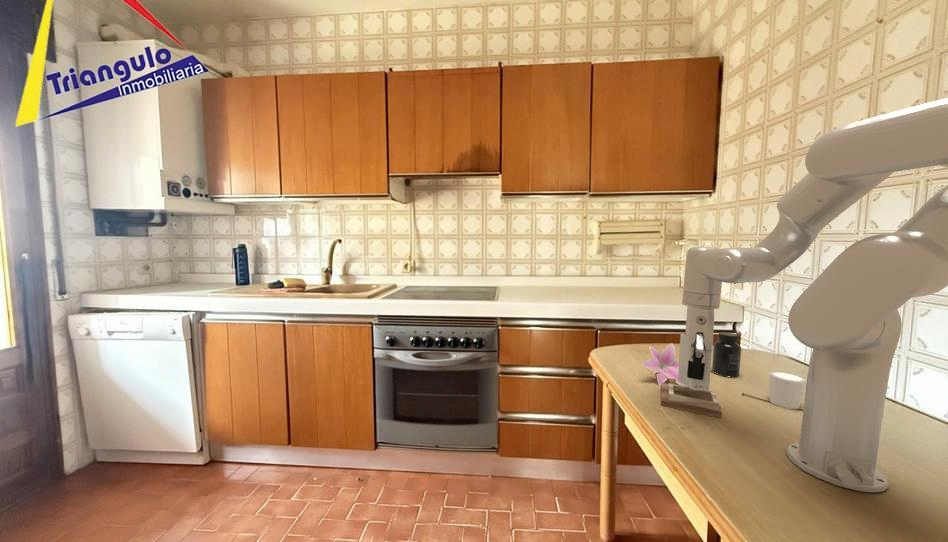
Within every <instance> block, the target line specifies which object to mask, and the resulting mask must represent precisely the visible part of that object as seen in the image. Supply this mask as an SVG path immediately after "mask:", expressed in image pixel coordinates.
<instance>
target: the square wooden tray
mask: <svg viewBox="0 0 948 542" xmlns="http://www.w3.org/2000/svg"><path fill="white" fill-rule="evenodd" d="M660 388H661V389H660V393H661V394H660V400H661V401H660V405H661V406H662V407H666V408H672V409H675V410H676V409H678V410H681V411H686V412H691V413H695V414H699V415H700V414H701V415H704V416H709V417H715V418H719V419H722V417H723V412H722V409H721V405H720V403H719V402H720V401H719V400H718V397H717V394H716V391H715V390H714V391H713V390H710V389H709V390H708V391H701V390H692V389H690V388H689V387H688V386H686V385H685V386H682V385H678V384H677V383H676V379H673V378H670V379H669V383H667V382H664V383H662V384H661V385H660Z"/></svg>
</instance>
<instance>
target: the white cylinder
mask: <svg viewBox="0 0 948 542" xmlns="http://www.w3.org/2000/svg"><path fill="white" fill-rule="evenodd" d="M806 384H807V379H806V378H804V377H803V376H800V375H796V374H793V373H789V372H784V371H769V402H770V403H772V404H774V405H775V406H778V407H781V408H784V409H790V410H798V409H800V407H801V402H802V399H803V395H804V390H805V388H806V387H805V386H806Z"/></svg>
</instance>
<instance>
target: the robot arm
mask: <svg viewBox="0 0 948 542" xmlns="http://www.w3.org/2000/svg"><path fill="white" fill-rule="evenodd" d="M804 161H805V163H804V165H805V168H806V170H807V171H808V173H807V174H806V175H805V176H803V177H802V178H801V179H800V180H799V181H798V182H797V183H796V184H795V185H794V186H792V187H791V188H790V189H789V190H788V191H786V193H785V194H784V195H782V196H781V197H780V198H779V199H778V201H777V203H776V210H777V211H778V214H779V218H778V221H777V224H776V226H775V227H774V228H773V229H772V230H771V232H770V233H769V234H767V236H765V238H763V239H762V240H760V242H759V243H758V244H756V245H754V246H753V247H725V248H720V247H709V246H692V247H690V248H688V249H687V251H686V257H685V266H684V267H685V269H684V278H683V286H682V287H683V288H682V289H683V290H682V300H681V304H682V306H684V307H685V306H686V307H687V309H686V318H685V319H686V320H685V333H686V341H687V347H688V348H689V349H690V360H688V371H687V377H688V378H692V379H698V380H703V378H704V368H705V363H704V360H705V347H706V350H708V352H711V351H713V347H714V330H715V310H718V309H720V305H721V295H722V287H723V283H725V284H746V283H761V282H762V283H763V282H766V281H768V280H770V279H772V278H774V277H776V276H777V275H778V274H779V273H781V272H783V271H784V270H785V269H786V268H788V267H789V266H790V265H792V264H793V263H794V262H796V261H797V260H798V259H799V258H801V257H802V256H803V254H805V252H806V251H807V250H808V249H809V248H810V247H811V245H812V244H813V242H814V241H816V239H817V237H818V236H819V234H820V233H821V231H822V230H823V229H825V227H826V226H828V225H829V224H830V223H832V222H833V221H834V220H836V218H838V217H839V216H840V215H842V214H843V213H844V212H845V211H847V210H848V209H849V208H850V207H852V206H853V205H854V204H855V203H857V202H858V201H860V200H861V199H862V198H863V197H864V196H866V195H867V194H869V193H870V192H871V191H873V190H874V189H875V188H876V187H877V186H879V185H880V184H881V183H883V182H884V181H885V180H887V179H888V178H889V177H890V176H891V175H893V174H894V173H896V172H897V173H898V172H903V171H904V172H905V171H909V170H910V171H911V170H915V169H916V170H917V169H923V168H929V167H936V166H937V167H939V166H941V167H944V168H948V97H946V98H945V97H944V98H942V99H941V98H940V99H938V100H933V101H930V102H926V103H922V104H918V105H915V106H910V107H908V108H904V109H899V110H896V111H891V112H889V113H885V114H884V113H883V114H880V115H877V116H872V117H870V118H866V119H863V120H859V121H854V122H851V123H848V124H844V125H841V126H839V127H836V128H834V129H831V130H829V131H828V132H826V133H824V134H822V135H821V136H820V137H819V138H817V139H816V140H815V141H814V142H813V143H812V144H811V146H809V148H808V151H807V152H806V155H805V158H804ZM947 287H948V184H947V185H946V186H944V187H943V188H942V189H940V190H939V191H937V192H936V193H935V194H934V195H933V196H932V197H930V198H929V199H928V200H927V201H926V202H925V203H924V204H922V206H921V207H920V208H919V209H918V210H917V211H916V213H914V214H913V215H912V216H911V217H910V218H909V219H908V220H907V221H906V222H905V223H904V224H902V226H900V228H898V229H897V230H896V231H894V232H893V233H892V232H891V233H881V234H875V235H871V236H867V237H863V238H862V239H860V240H858V241H855V242H854V243H853V244H851V245H849V246H848V247H847V248H845V249H844V250H843V251H841V253H839V254H838V255H837V256H836V258H834V259H833V260H832V262H831V263H829V265H828V266H826V268H825V269H824V270H823V271H822V272H821V273H820V274H819V275H818V276H817V277H816V279H814V280H813V281H812V282H811V283H810V285H809V286H808V287H807V288H805V290H804V291H803V292H802V293H801V294H800V295H799V296H798V298H797V299H795V301H794V303H793V304H792V305H791V307H790V309H789V313H788V318H787V321H788V326H789V329H790V331H791V334H792V336H794V338H795V339H796V340H797V341H798V342H799V343H801V344H803V346H806V347H808V348H809V349H812V351H811V355H810V358H809V363H808V370H807V371H808V372H807V378H806V384H805V386H806V387H805V393H804V403H803V411H802V418H801V428H800V433H799V434H800V436H799V441H798V442H794V443H790V444H788V446H787V448H786V455H787V457H788V458H789V460H790V461H791V462H792V463H793V464H794V465H795V466H797V467H798V468H800V469H801V470H802V471H804V472H806V473H808V474H809V475H811V476H814V477H816V478H818V479H820V480H823V481H824V482H827V483H830V484H833V485H835V486H839V487H842V488H844V489H849V490H853V491H856V492H864V493H881V492H884V491H886V490H887V489H886V488H888V485H889V479H888V476H886V475H885V474H884V472H883V471H882V470H880V469H879V468H878V467H876V466H877V460H878V454H879V453H878V452H879V446H880V438H881V433H882V424H883V418H884V411H885V410H884V409H885V406H886V404H885V403H886V397H887V391H888V386H889V379H890V374H891V369H892V364H893V360H894V356H895V353H896V351H897V348H898V345H899V341H900V337H901V333H902V325H903V324H902V318H901V315H900V312H899V309H900V308H901V307H903V305H906V303H907V302H908V301H909V300H911V299H913V298H920V297H926V296H930V295H934V294H936V293H938V292H940V291H942V290H943V289H945V288H947ZM695 340H696V348H693V345H694V343H695ZM693 351H696V352H694V353H693ZM885 489H886V490H885Z"/></svg>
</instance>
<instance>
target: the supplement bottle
mask: <svg viewBox="0 0 948 542" xmlns="http://www.w3.org/2000/svg"><path fill="white" fill-rule="evenodd" d="M717 339H718V340H717V341H715V342H713V348H712V351H713V352H712V360H711V363H712V364H711V371H712V370H713V371H714V372H716V373H718V374H721V375H725V376H724V377H726V376H730V377H729V378H737V377H739V376H740V369H741V358H742V347H741V345H740V344H738V342H739V335H738V334H735V333H732V332H724V331H723V332H718V337H717ZM713 371H712V372H713ZM714 372H713V373H714ZM716 373H715V374H716ZM718 374H717V375H718ZM721 375H720V376H721Z"/></svg>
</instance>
